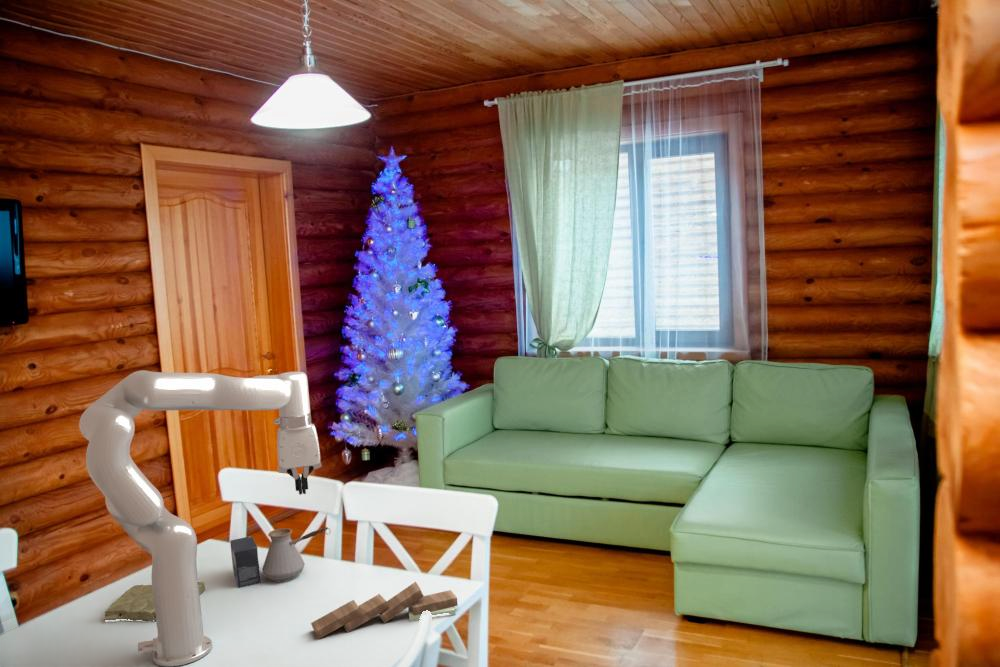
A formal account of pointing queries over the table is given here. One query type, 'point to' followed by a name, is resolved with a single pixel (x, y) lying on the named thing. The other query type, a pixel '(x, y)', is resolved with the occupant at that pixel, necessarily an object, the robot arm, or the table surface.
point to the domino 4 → (434, 602)
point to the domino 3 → (401, 601)
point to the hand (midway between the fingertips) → (302, 492)
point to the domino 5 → (446, 610)
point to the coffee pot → (284, 555)
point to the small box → (245, 561)
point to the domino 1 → (336, 619)
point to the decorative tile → (137, 604)
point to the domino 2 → (368, 611)
